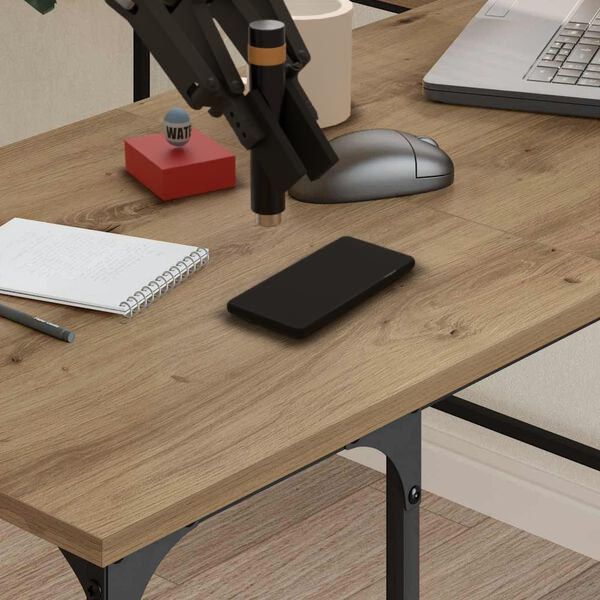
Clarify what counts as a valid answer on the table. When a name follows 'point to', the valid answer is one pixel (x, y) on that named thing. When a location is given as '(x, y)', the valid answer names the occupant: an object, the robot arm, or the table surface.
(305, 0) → the mug
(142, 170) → the red rectangular block
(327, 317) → the smartphone
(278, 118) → the marker
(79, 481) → the table surface
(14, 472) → the table surface
